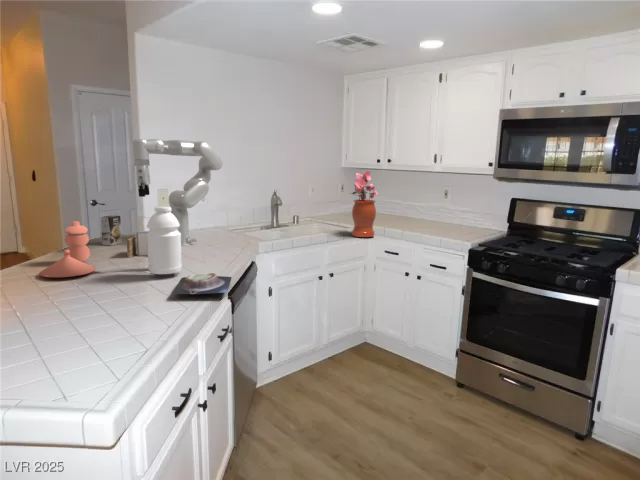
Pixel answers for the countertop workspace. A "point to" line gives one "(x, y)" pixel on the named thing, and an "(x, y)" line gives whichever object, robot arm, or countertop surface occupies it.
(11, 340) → the countertop surface
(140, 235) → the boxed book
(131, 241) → the oak shelf
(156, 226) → the bottle
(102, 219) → the coffee box
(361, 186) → the potted flower
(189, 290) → the quiche
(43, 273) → the ceramic vessels
